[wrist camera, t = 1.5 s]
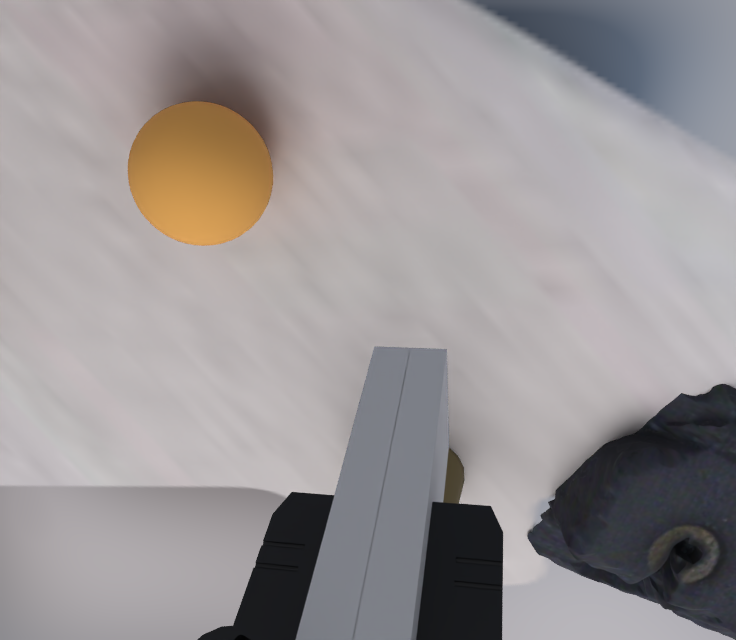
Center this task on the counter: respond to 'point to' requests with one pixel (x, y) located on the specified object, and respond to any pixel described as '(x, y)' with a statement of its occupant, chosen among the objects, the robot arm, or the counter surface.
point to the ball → (200, 173)
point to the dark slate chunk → (657, 512)
